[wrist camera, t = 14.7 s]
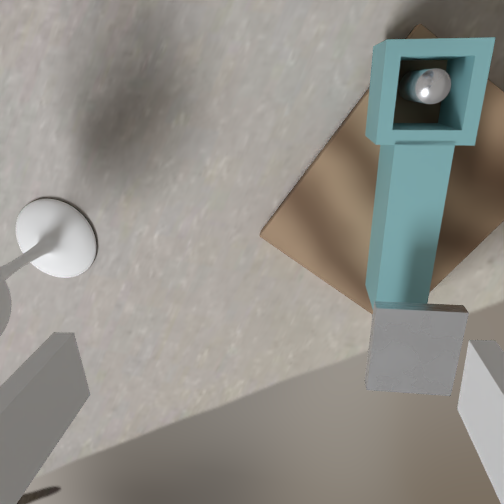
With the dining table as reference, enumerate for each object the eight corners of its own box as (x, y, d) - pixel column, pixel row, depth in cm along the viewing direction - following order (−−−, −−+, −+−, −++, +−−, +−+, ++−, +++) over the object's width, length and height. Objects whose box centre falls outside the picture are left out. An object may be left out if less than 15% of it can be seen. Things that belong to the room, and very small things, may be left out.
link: (373, 46, 32) (386, 39, 26) (464, 44, 31) (495, 37, 26) (351, 284, 39) (358, 314, 34) (423, 287, 38) (441, 318, 33)
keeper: (356, 244, 39) (376, 308, 28) (421, 247, 39) (468, 312, 28) (350, 309, 42) (366, 389, 31) (411, 312, 41) (450, 395, 30)
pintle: (407, 65, 33) (432, 61, 27) (428, 82, 33) (458, 81, 27) (388, 89, 34) (408, 91, 27) (409, 105, 34) (434, 111, 28)
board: (415, 26, 32) (420, 23, 31) (564, 148, 34) (575, 151, 33) (261, 230, 40) (259, 236, 38) (389, 320, 42) (392, 328, 40)
